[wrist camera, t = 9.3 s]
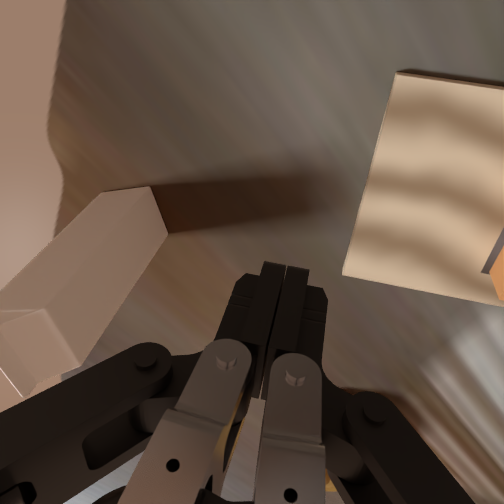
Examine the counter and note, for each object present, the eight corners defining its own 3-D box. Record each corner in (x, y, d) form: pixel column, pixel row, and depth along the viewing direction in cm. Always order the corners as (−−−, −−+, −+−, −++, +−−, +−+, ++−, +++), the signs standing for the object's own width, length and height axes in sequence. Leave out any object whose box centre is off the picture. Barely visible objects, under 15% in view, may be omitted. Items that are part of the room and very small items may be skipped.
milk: (150, 185, 46) (16, 340, 28) (169, 234, 49) (60, 401, 31) (100, 191, 47) (-56, 341, 30) (121, 239, 51) (-8, 399, 33)
